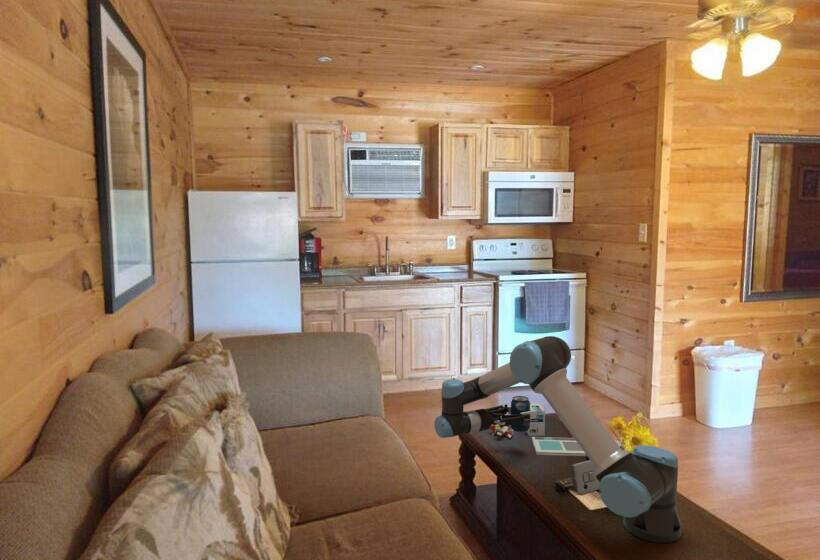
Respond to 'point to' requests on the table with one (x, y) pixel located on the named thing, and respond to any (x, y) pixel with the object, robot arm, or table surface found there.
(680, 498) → the table surface
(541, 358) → the robot arm
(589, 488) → the electrical switch
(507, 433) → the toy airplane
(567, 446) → the white teal rectangular board
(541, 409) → the light bulb box
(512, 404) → the soda can
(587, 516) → the table surface
